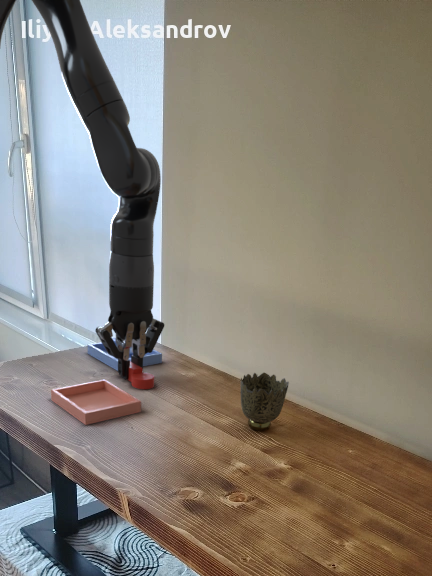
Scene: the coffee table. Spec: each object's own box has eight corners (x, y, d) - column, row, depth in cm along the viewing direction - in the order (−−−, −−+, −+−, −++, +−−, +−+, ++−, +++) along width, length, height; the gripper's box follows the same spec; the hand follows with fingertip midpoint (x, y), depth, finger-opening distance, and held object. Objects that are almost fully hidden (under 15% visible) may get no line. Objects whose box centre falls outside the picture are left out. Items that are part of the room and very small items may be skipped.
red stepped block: (115, 376, 115) (115, 362, 113) (133, 373, 117) (134, 359, 116) (139, 390, 109) (140, 376, 108) (158, 387, 112) (159, 373, 111)
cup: (226, 425, 100) (230, 377, 96) (256, 414, 105) (262, 368, 101) (260, 442, 96) (266, 393, 92) (291, 430, 100) (298, 383, 96)
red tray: (51, 400, 103) (50, 389, 102) (105, 389, 109) (105, 379, 108) (85, 425, 96) (85, 413, 95) (141, 411, 102) (141, 401, 101)
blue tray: (87, 353, 125) (87, 344, 124) (130, 346, 131) (130, 337, 130) (117, 371, 117) (117, 361, 116) (161, 362, 123) (162, 353, 122)
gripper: (152, 273, 113) (149, 365, 121) (84, 278, 105) (86, 376, 113) (177, 282, 108) (172, 377, 116) (108, 288, 100) (108, 390, 108)
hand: (130, 376), depth 115 cm, fingers closed on red stepped block, 2 cm apart
